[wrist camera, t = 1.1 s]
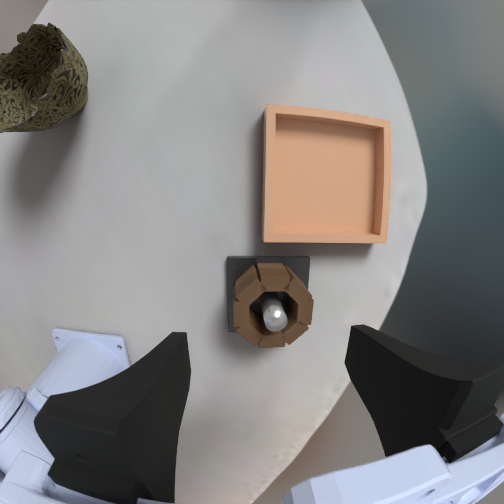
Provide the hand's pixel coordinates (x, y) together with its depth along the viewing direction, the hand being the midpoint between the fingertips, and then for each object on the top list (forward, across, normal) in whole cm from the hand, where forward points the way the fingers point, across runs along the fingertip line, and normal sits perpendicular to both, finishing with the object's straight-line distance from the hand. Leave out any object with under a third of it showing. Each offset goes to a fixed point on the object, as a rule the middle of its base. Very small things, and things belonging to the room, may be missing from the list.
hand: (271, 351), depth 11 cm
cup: (+10, +15, -15) cm, 23 cm away
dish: (+10, -5, -8) cm, 13 cm away
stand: (+10, -1, +1) cm, 10 cm away
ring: (+9, -1, +1) cm, 10 cm away
